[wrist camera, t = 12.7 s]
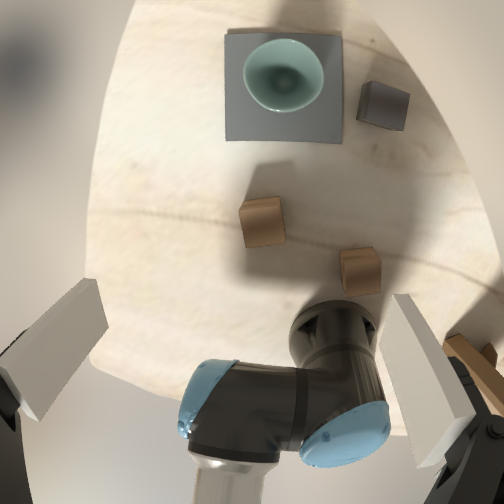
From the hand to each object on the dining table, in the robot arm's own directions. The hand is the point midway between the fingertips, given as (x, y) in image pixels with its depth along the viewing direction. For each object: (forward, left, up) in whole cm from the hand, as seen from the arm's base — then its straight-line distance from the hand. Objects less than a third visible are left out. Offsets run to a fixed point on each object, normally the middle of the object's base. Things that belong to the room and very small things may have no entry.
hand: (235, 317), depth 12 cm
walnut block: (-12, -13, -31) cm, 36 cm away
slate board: (+13, -2, -31) cm, 33 cm away
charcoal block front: (+11, -14, -31) cm, 36 cm away
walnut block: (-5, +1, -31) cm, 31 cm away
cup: (+13, -2, -30) cm, 32 cm away
